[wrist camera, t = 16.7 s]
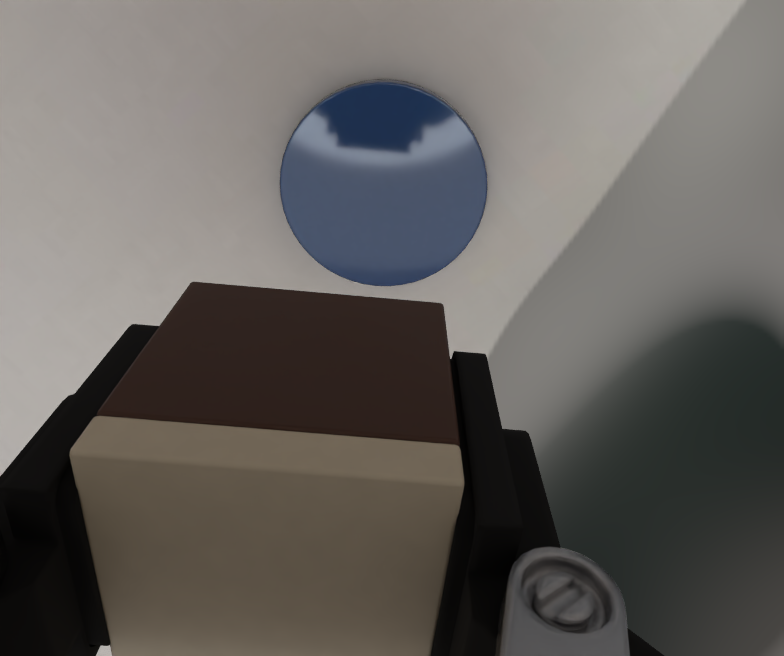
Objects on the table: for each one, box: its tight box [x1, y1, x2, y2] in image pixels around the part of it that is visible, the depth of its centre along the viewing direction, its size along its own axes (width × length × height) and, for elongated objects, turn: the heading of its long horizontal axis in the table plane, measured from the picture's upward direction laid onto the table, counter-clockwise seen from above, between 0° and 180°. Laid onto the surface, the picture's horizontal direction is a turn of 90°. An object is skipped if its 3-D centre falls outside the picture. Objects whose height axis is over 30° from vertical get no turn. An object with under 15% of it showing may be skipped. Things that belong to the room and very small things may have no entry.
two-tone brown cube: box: [69, 282, 465, 656], centre depth 10 cm, size 4×4×4 cm
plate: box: [280, 79, 487, 286], centre depth 24 cm, size 8×8×1 cm
